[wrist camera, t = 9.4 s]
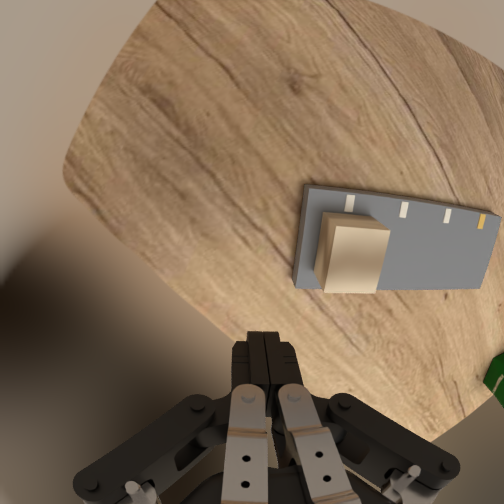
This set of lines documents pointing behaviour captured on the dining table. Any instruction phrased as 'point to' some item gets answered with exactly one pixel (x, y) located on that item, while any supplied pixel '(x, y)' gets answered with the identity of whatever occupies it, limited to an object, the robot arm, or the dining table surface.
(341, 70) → the dining table surface
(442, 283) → the board
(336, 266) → the knob
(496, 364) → the soya milk
